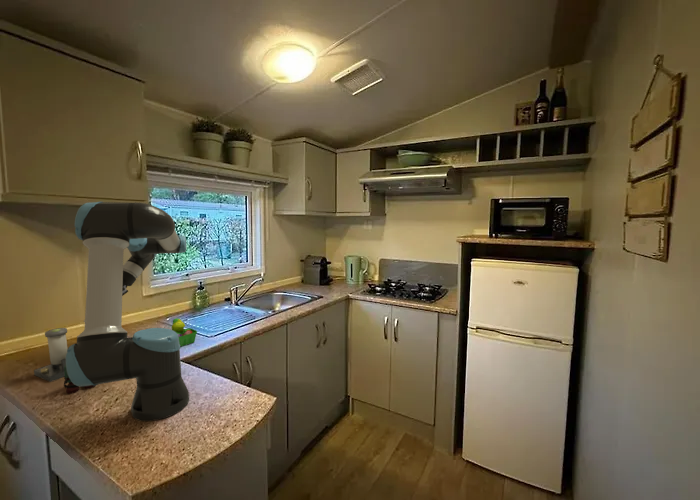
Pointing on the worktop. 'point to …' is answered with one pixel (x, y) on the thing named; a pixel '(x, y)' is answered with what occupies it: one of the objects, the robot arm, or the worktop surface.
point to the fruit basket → (183, 332)
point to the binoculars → (72, 387)
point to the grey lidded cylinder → (57, 344)
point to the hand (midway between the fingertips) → (87, 323)
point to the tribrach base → (51, 371)
